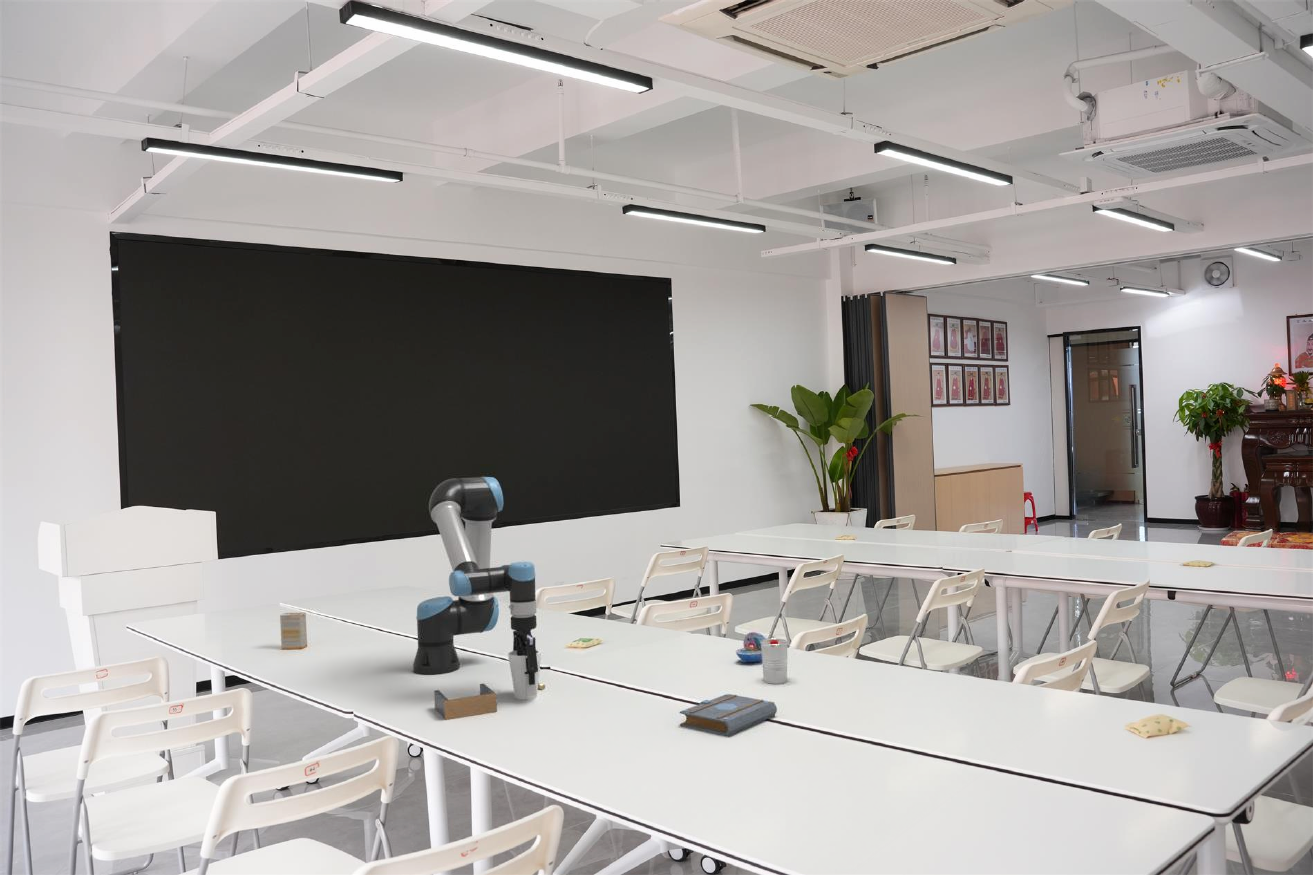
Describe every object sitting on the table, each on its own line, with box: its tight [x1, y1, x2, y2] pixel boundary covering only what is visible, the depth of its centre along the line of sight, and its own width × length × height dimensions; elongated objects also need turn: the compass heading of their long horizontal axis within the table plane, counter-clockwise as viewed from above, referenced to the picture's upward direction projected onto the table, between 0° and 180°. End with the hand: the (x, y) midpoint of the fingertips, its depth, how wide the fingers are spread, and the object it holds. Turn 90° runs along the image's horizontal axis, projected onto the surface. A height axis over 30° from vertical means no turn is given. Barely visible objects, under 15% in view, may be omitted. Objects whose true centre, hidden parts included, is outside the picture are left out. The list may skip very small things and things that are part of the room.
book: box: [679, 693, 778, 737], centre depth 255 cm, size 21×16×5 cm
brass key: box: [538, 682, 546, 691], centre depth 295 cm, size 8×2×2 cm, turn 45°
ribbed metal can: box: [758, 638, 791, 685], centre depth 294 cm, size 10×8×12 cm
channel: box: [433, 683, 498, 721], centre depth 273 cm, size 13×14×5 cm
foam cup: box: [507, 649, 542, 701], centre depth 285 cm, size 10×9×13 cm
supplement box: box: [279, 612, 308, 650], centre depth 366 cm, size 8×5×13 cm, turn 84°
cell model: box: [735, 631, 767, 663], centre depth 319 cm, size 10×12×10 cm
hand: (525, 691), depth 285 cm, fingers closed on foam cup, 9 cm apart
